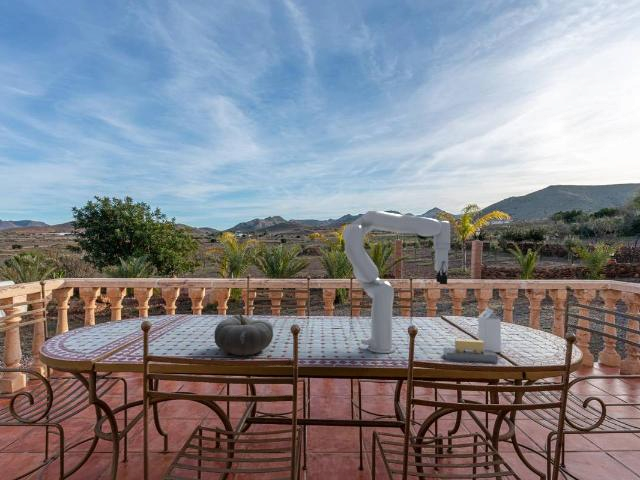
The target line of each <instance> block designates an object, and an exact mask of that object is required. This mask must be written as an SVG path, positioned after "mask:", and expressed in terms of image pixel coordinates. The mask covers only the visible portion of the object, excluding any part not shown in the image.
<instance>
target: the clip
mask: <svg viewBox="0 0 640 480" xmlns="http://www.w3.org/2000/svg"><path fill="white" fill-rule="evenodd" d="M454 348H456V349H457V352H464V350H475V353H481V351H484V342H483V341H480V340H478V339H477V340H475V339H459V338H457V339H456V338H455V339H454Z"/></svg>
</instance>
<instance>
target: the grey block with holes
mask: <svg viewBox="0 0 640 480" xmlns="http://www.w3.org/2000/svg"><path fill="white" fill-rule="evenodd" d="M443 356H444V358H445V359H446V361H458V362H459V361H462V362H463V361H464V362H477V363H478V362H479V363H496V364H498V360H499V359H498V358H499V356H498V354H496V352H493V351H492V350H484V351H481V353H475V350H464V352H457V349H456V348H455V347H443Z"/></svg>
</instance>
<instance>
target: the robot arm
mask: <svg viewBox="0 0 640 480" xmlns="http://www.w3.org/2000/svg"><path fill="white" fill-rule="evenodd" d="M372 230H378V231H383V232H384V231H385V232H392V233H397V234H407V233H408V234H410V233H411V234H418V235H419V236H421V237H433V250H434V251H435V253H434V270H435V271H436V283H439V284H440V285H448V270H449V251H451V223H450V221H447V220H437V219H434V218H428V217H423V216H417V215H416V216H415V215H409V214H408V215H406V214H398V213H391V212H387V211H380V210H372V211H367V212H366V213H364V214H363V215H362V216H360V217H359V218H357V219H356V220H354V221H353V222H351V223H350V224H348V225H347V226H346V227H345V228H344V229H343V230H342V234H341V235H342V238H343V240H344V251H345V255H346V257H347V259H348V261H349V263H350V264H351V265H352V267H353V276H354V277H355V280H356V281H357V282H358V284H359V285H360V287H361V288H362V289H363V291H364V292H365V293H366V294H367V296H368V297H370V298H371V299H372V303H371V307H370V309H371V311H370V312H371V313H370V315H371V316H370V317H371V319H370V323H371V326H370V328H371V329H370V339H369V338H368V339H361V340H360V341H361V342H360V344H361V345H364V346H365V345H366V346H367V351H370V352H373V353H377V354H391V353H393V352H395V351H396V347H395V346H394V345H393V305H394V297H395V290H394V287H393V286H392V284H391V283H390V282H389V281H386V280H384V279H380V277H379V274H380V273H379V272H380V271H379V269H378V266H377V265H376V263H375V262H374V261H373V260H372V258H370V256H369V254H368V253H367V251H366V250H365V248H364V247H365V246H364V241H365V238H366V235H367V234H369V232H371V231H372Z"/></svg>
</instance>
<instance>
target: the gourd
mask: <svg viewBox="0 0 640 480" xmlns="http://www.w3.org/2000/svg"><path fill="white" fill-rule="evenodd" d="M213 334H214V343H215V345H216V346H217V348H219V349H220V350H221V351H222V352H223V353H227V354H232V355H233V356H234V355H235V356H244V357H245V356H250V355H252V356H253V355H255V354H258V353H260V352H262V351H263V350H265V349H267V348H268V347H269V346H270V344H271V343H272V341H273V338H274V329H273V325H272V323H271V322H270V321H268V320H266V319H253V318H252V317H249V316H245V315H243V314H242V313H241V312H240V313H239V314H233V315H232V316H229V317H228V318H226V319H224V320H221V321H220V322H219V323H218V324H217V325H216V327H215V329H214V333H213Z"/></svg>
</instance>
